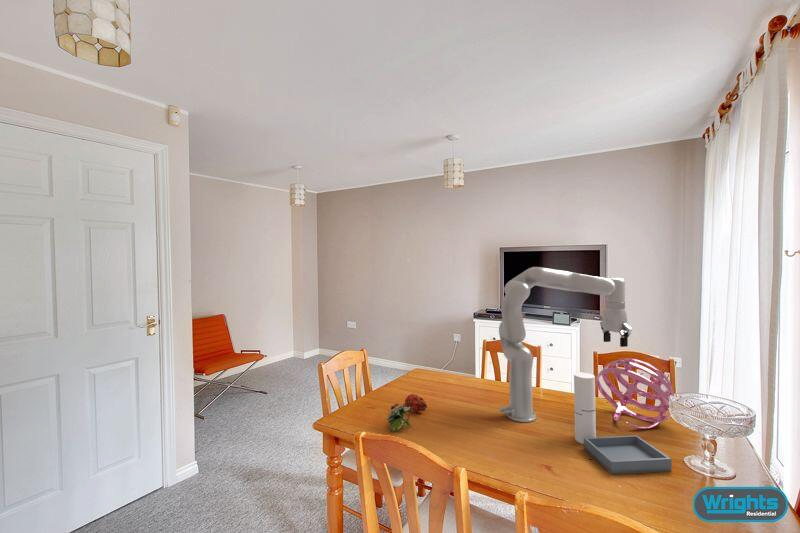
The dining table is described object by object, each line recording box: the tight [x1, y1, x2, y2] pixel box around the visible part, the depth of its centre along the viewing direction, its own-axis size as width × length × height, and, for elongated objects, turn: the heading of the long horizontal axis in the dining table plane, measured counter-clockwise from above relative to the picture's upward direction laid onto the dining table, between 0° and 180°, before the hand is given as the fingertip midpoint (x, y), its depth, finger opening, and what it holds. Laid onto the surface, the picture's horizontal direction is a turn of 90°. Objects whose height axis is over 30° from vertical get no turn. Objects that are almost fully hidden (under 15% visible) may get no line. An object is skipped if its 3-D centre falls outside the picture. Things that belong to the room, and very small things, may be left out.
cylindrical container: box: [573, 371, 597, 445], centre depth 138 cm, size 7×7×25 cm
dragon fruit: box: [403, 393, 428, 415], centre depth 168 cm, size 8×8×12 cm
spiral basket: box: [595, 357, 675, 430], centre depth 152 cm, size 28×28×27 cm
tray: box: [583, 434, 673, 475], centre depth 124 cm, size 20×16×4 cm
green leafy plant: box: [385, 403, 412, 433], centre depth 152 cm, size 11×11×12 cm
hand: (615, 344), depth 160 cm, fingers open, 9 cm apart
